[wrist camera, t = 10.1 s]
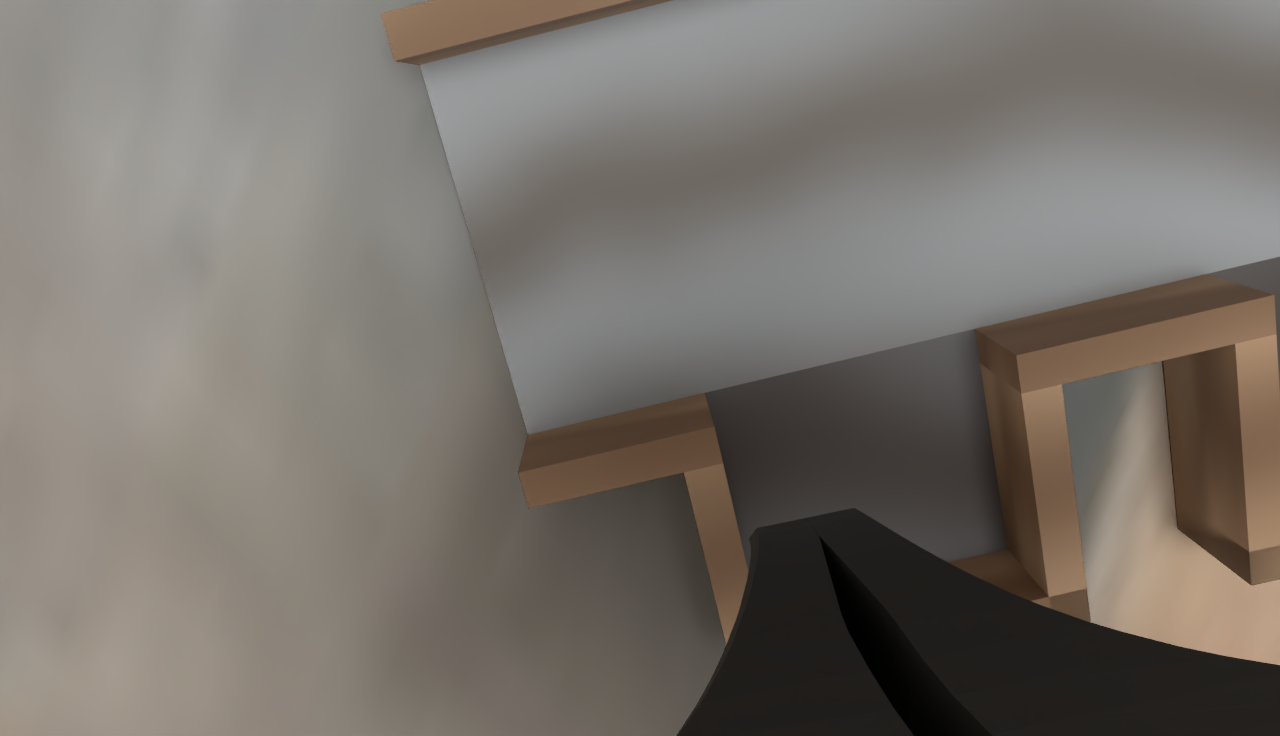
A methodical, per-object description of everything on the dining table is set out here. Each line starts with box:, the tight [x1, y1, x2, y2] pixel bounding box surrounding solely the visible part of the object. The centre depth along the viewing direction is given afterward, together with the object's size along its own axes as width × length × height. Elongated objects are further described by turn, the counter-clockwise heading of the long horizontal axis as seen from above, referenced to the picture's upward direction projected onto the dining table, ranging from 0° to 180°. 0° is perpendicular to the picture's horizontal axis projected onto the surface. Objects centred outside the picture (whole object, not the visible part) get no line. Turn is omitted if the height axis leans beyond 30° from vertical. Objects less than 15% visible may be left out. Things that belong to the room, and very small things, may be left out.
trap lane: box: [381, 0, 1280, 644], centre depth 19 cm, size 15×29×3 cm, turn 104°
